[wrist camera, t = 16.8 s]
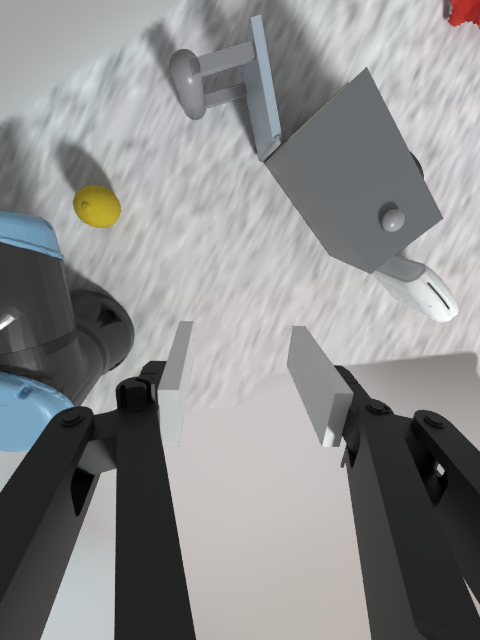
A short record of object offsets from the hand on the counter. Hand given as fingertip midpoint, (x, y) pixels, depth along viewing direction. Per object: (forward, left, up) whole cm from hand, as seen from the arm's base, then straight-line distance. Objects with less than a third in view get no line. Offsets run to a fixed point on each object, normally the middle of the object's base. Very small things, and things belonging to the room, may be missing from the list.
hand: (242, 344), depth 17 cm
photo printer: (+29, -2, -32) cm, 44 cm away
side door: (-2, +18, -31) cm, 36 cm away
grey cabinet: (+15, +12, -32) cm, 37 cm away
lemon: (-19, +6, -32) cm, 38 cm away
